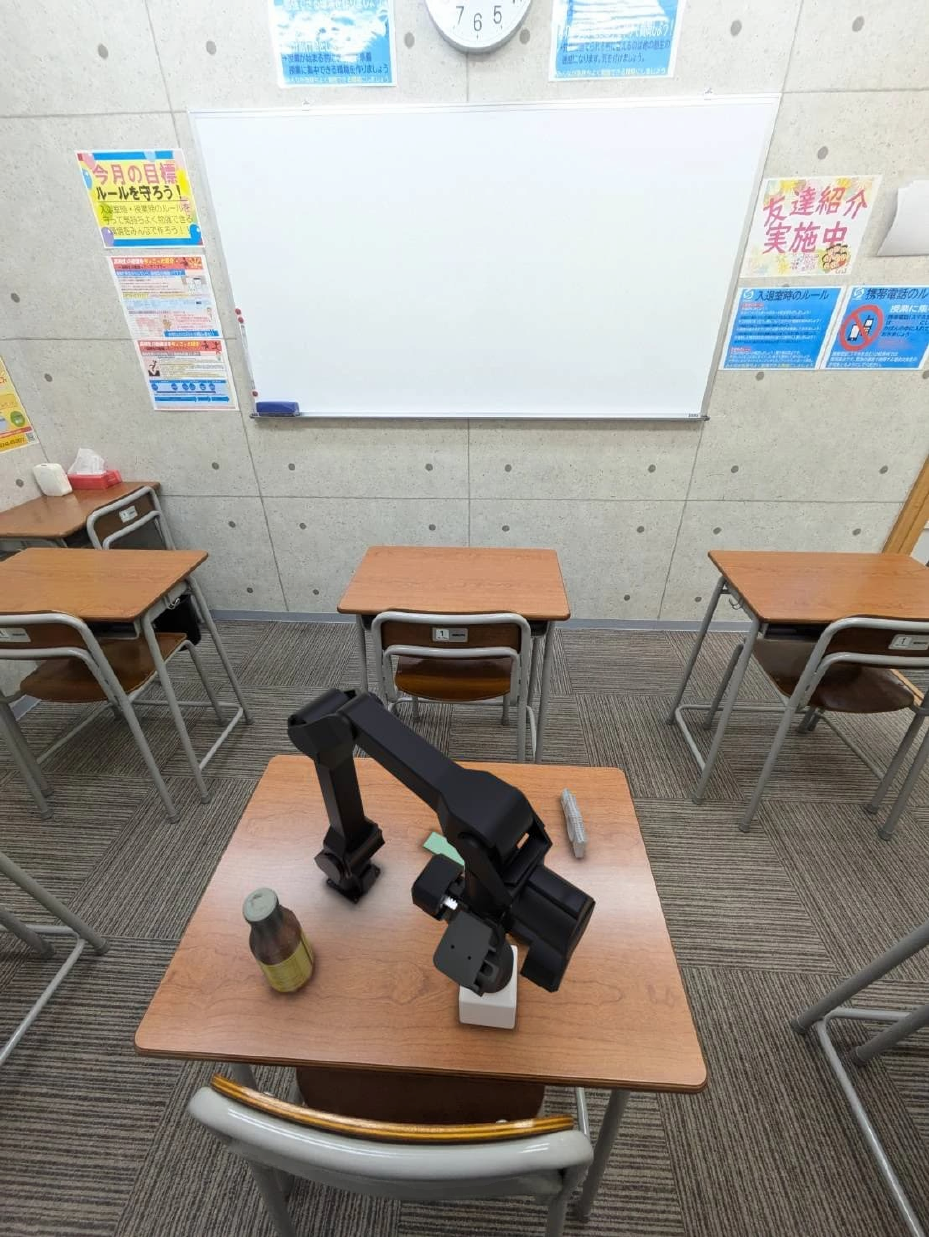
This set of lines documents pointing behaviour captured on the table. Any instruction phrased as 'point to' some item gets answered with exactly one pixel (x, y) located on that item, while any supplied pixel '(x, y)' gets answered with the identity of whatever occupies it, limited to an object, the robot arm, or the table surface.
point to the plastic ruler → (442, 847)
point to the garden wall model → (574, 822)
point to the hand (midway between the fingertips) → (489, 950)
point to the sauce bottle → (278, 942)
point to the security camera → (493, 997)
